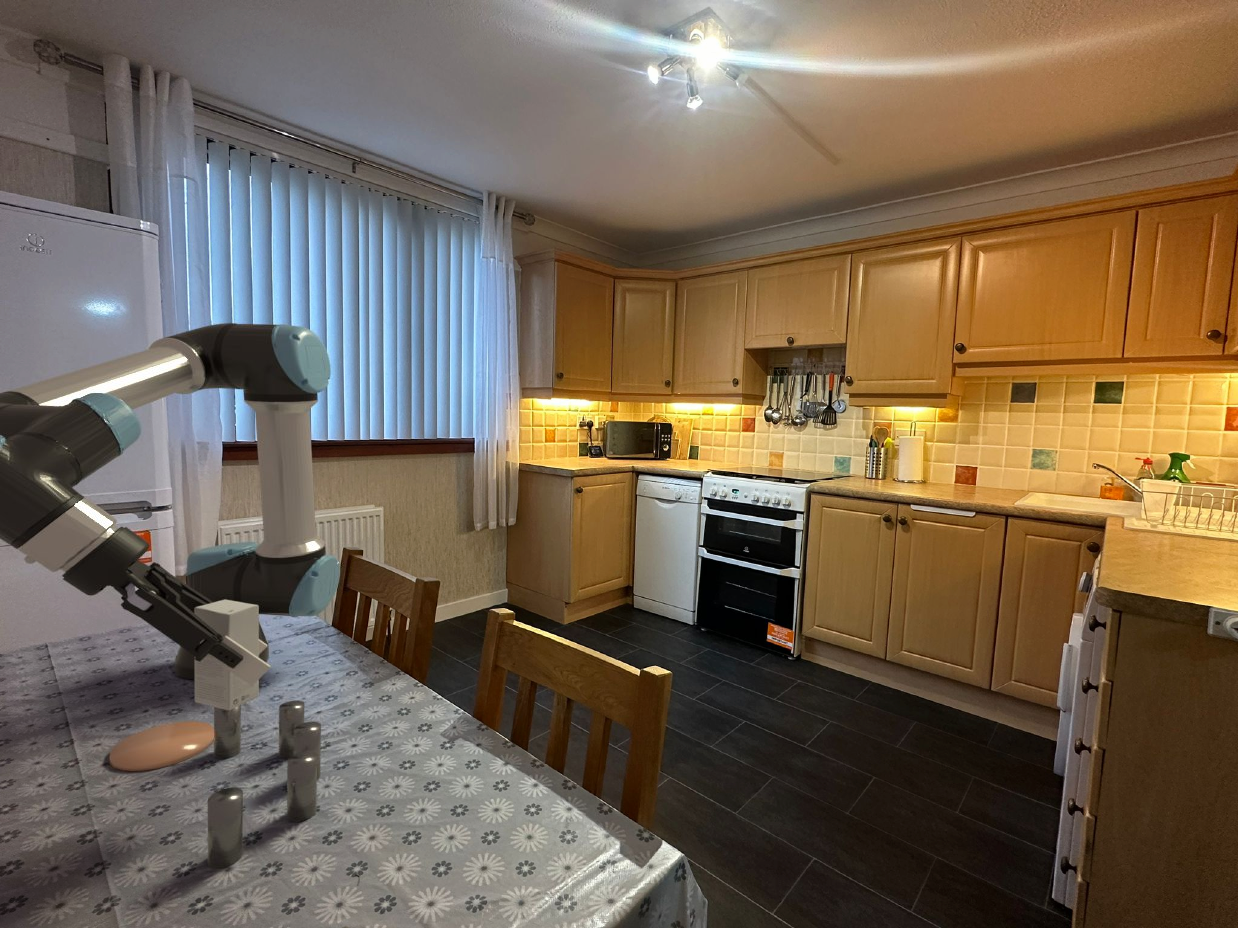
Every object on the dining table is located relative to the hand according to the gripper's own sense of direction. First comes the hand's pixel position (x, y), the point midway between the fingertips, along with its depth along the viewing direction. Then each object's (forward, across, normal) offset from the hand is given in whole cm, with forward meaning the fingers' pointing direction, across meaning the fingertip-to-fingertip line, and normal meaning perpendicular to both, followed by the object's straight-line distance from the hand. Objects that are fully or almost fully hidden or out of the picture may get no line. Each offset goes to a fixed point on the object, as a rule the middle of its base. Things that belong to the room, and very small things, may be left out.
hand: (259, 663), depth 76 cm
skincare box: (0, 0, -5) cm, 5 cm away
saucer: (+4, -18, -20) cm, 27 cm away
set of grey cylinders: (+11, -1, -13) cm, 17 cm away
